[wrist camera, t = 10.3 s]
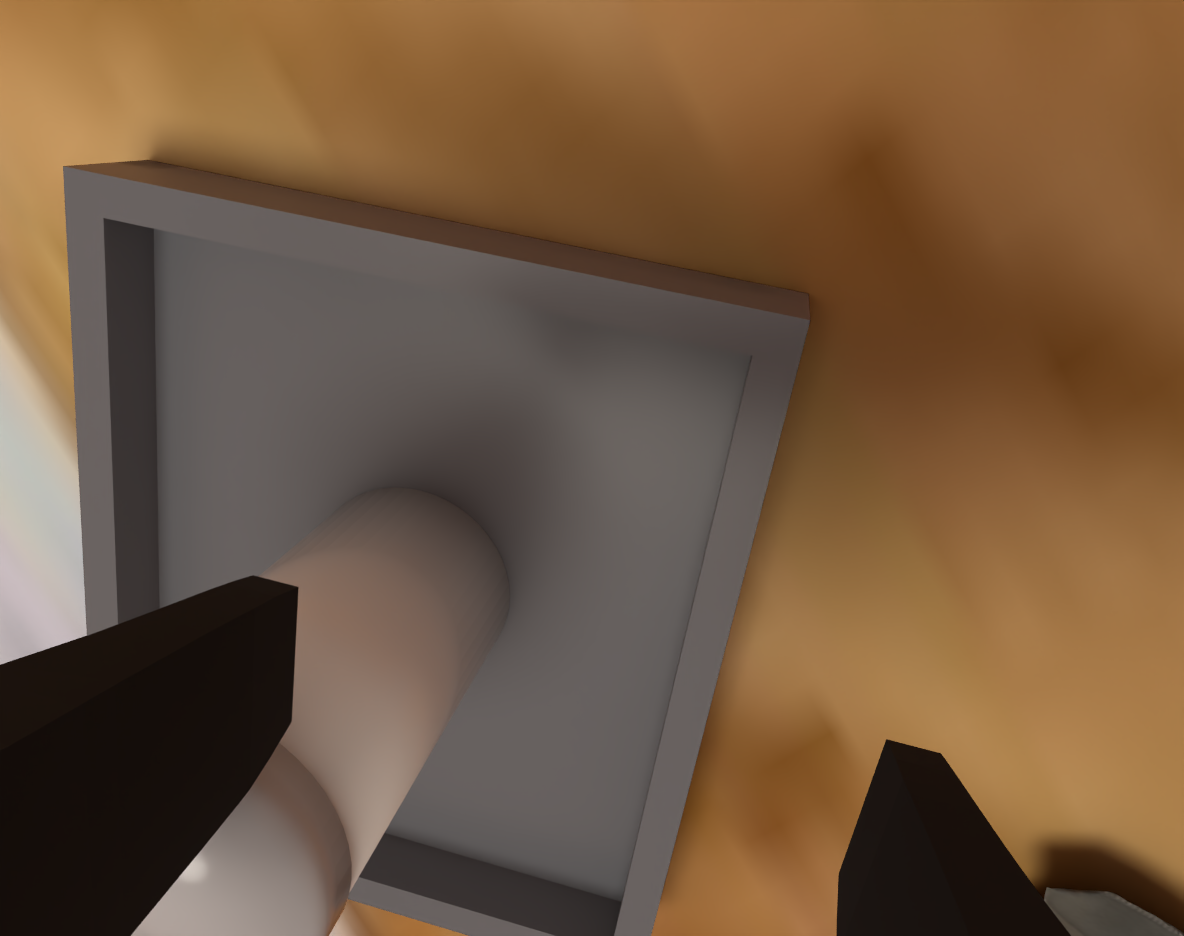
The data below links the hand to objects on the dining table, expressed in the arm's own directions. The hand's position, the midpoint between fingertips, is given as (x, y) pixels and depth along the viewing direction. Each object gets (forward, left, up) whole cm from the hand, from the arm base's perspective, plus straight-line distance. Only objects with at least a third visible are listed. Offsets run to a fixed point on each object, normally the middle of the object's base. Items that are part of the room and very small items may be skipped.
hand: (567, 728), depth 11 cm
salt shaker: (+5, +4, -8) cm, 11 cm away
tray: (+5, +4, -9) cm, 11 cm away
